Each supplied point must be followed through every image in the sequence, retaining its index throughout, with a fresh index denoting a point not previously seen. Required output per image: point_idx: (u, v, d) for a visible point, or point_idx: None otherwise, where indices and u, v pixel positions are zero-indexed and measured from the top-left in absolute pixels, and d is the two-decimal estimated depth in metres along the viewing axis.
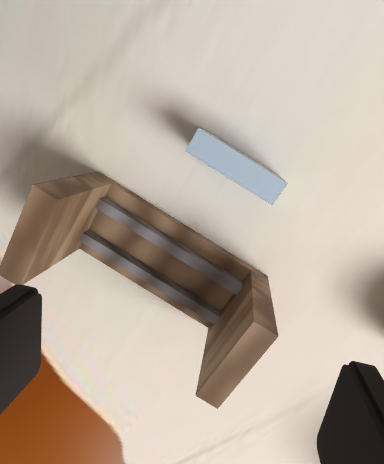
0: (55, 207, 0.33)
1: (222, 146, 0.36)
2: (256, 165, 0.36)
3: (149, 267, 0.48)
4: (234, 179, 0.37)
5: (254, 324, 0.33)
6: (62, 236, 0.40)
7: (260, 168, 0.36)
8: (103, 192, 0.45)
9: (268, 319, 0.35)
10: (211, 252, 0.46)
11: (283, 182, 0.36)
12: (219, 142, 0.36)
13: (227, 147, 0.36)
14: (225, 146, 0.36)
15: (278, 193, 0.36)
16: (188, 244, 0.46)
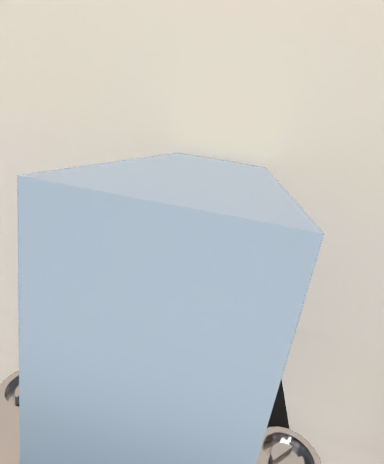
0: None
1: None
2: None
3: None
4: None
5: None
6: None
7: (33, 445, 0.04)
8: None
9: None
10: None
11: (32, 222, 0.03)
12: None
13: None
14: None
15: (159, 224, 0.03)
16: None
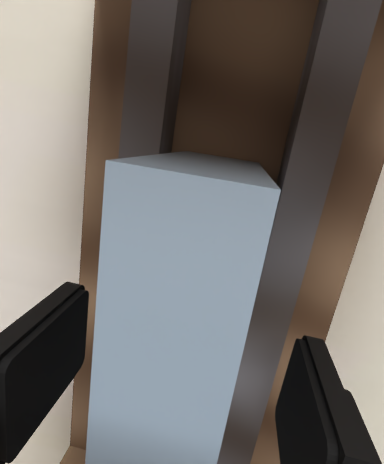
0: None
1: None
2: (99, 359, 0.07)
3: None
4: (212, 437, 0.07)
5: None
6: None
7: (102, 337, 0.06)
8: None
9: None
10: (108, 142, 0.13)
11: (112, 188, 0.06)
12: None
13: None
14: None
15: (188, 187, 0.05)
16: None
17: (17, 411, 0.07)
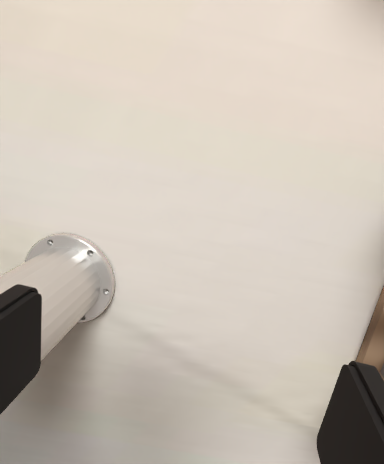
0: None
1: None
2: None
3: None
4: None
5: None
6: None
7: None
8: None
9: None
10: None
11: None
12: None
13: None
14: None
15: None
16: None
17: None
